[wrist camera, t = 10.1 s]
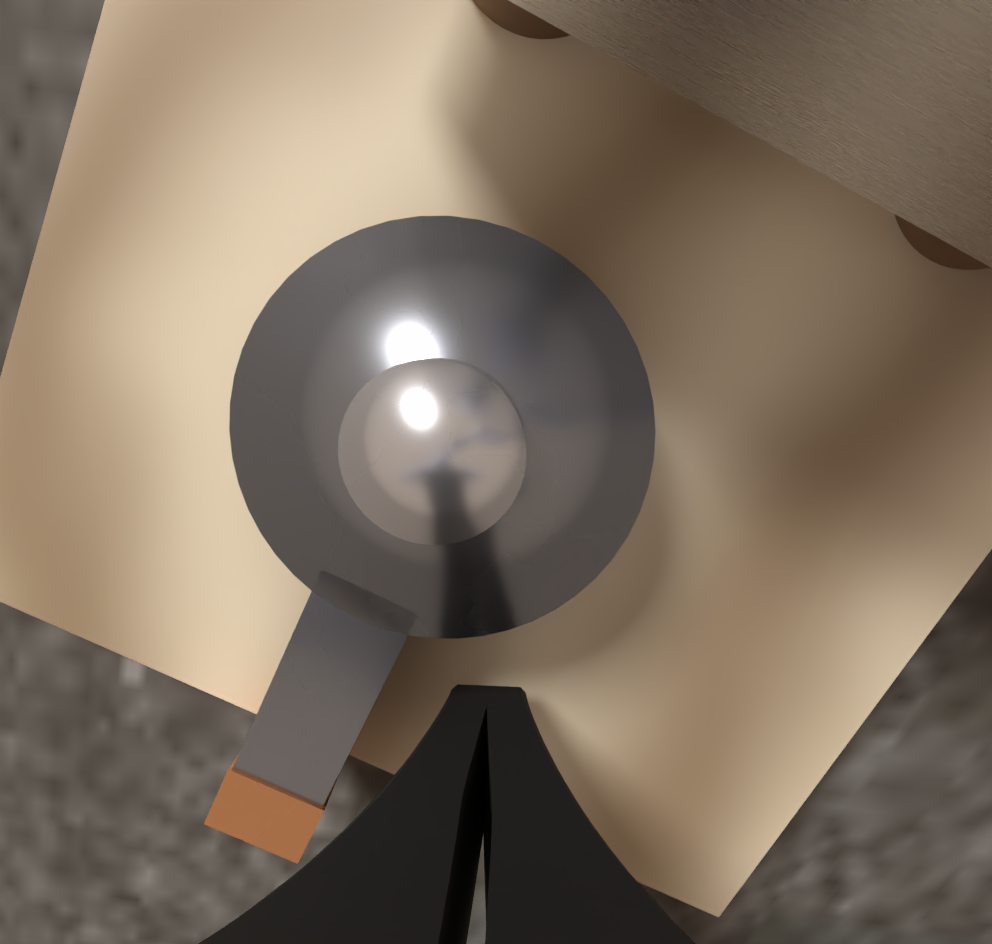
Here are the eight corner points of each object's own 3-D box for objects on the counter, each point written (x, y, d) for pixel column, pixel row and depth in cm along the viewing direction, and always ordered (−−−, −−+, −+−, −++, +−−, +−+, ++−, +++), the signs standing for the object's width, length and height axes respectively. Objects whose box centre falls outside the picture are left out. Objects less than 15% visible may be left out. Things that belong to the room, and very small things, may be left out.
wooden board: (1310, 13, 10) (1662, -133, 7) (701, 869, 14) (751, 1010, 11) (337, -580, 8) (240, -1079, 5) (-2, 555, 13) (-158, 619, 10)
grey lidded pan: (372, 183, 9) (300, 103, 6) (684, 344, 10) (763, 343, 7) (172, 683, 12) (46, 809, 9) (433, 798, 12) (404, 958, 9)
